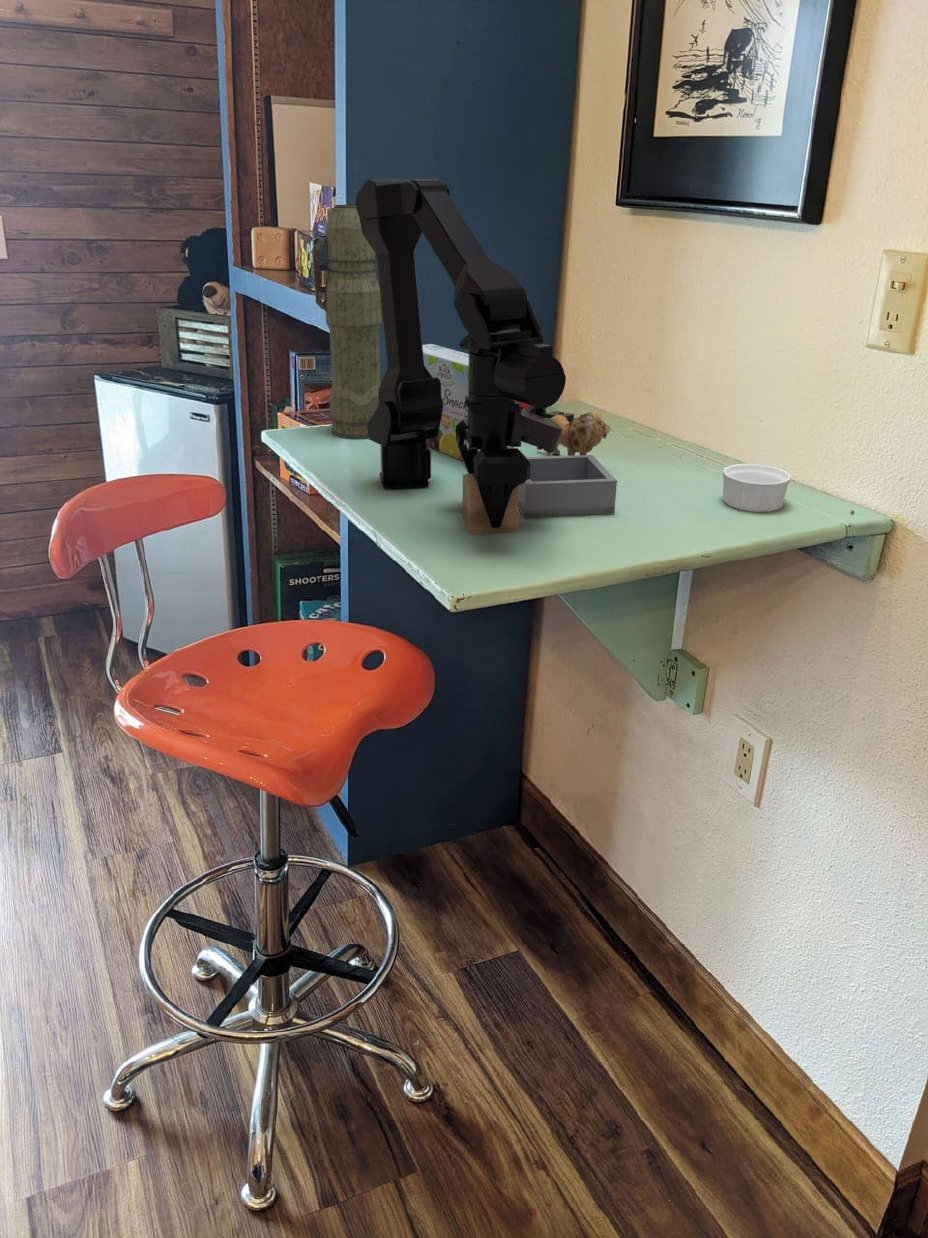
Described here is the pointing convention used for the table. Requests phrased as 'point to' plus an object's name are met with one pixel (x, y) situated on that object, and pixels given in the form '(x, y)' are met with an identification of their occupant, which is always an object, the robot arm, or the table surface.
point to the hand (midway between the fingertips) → (489, 514)
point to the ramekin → (755, 487)
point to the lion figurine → (580, 433)
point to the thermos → (350, 321)
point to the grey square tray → (567, 487)
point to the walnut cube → (477, 514)
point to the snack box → (449, 394)
